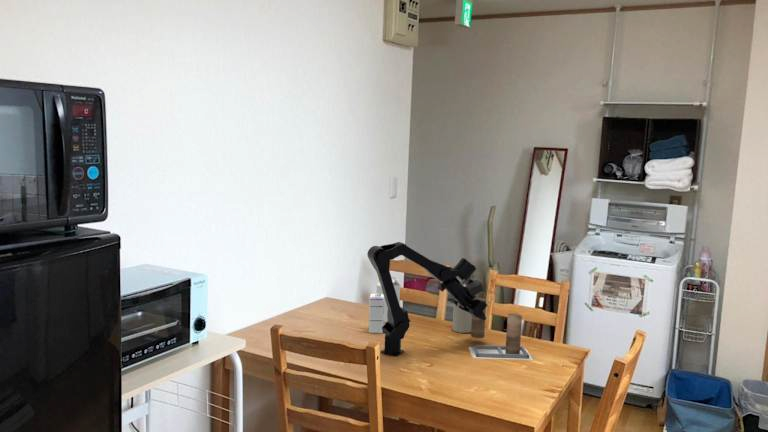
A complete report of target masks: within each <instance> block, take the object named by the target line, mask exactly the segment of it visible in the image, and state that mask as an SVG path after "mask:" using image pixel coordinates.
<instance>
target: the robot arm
mask: <svg viewBox="0 0 768 432" xmlns="http://www.w3.org/2000/svg"><path fill="white" fill-rule="evenodd" d="M400 256H403V257H404V258H406V259H407V260H409V261H411V262H413V263H414V264H416V265H418V266H420V267H421V268H423V269H424V271H426V272H427V274H429V275H430V276H431V277H432V278H434V279H436V280H438V281H440V282H438V286H437V290H439V291H441V292H444V291H447V292H448V294H449V295H450V297H451V300H450V301H451V303H452V304H453V306H454V305H455V306H458V305H459V308H460V309H462V310H464V311H467V312H469V313H470V314H471V315H473V316H475V317H478V318H480V319H482V320H485V321H486V320H487V317H486V316H485V314H484V312H483V310H484V309H485V308H487V307H488V303H487V301H486V302H485V301H483V300H481V299H477V300H476V301H475V300H473V299H474V298H477V296H476V295H478V294H479V293H481V292H484V291H485V288H484V285H483V282H482V281H480V280H476V279H471V276H473V274H474V273H475V272H476V271H477V267H476V266H475V265H474V264H472V263H471V262H470V261H468V259H466V258H464V257H462V258H461V259H460V260H459V262H458V263H457V264H456V265H455V266H454V267H451V266H447V265H445V264H442V263H440V262H437V261H434V260H432V259H430V258H428V257H426V256H424V255H422V254H421V253H420V252H418V251H416V250H414V249H412V248H411V247H409V246H408V245H407V244H406V243H403V242H401V241H397V242H394V243H391V244H390V243H389V244H382V245H380V246H379V245H372V246H371V247H370V248H369V249H368V250H367V258H368V260H369V262H370V264H371V265H372V267H373V269H374V270H375V272H376V274H377V277H378V282H379V281H380V284H381V287H382V291H383V294H384V297H385V301H386V304H387V307H388V312H387V318H388V321H387V322H385V323H384V326H383V327H382V331H383V333H382V334H384V347H383V350H381V351H380V354H383V355H388V356H392V357H398V356H400V355H402V354H403V353H405V350H404V349H402V340H403V339H404V337H405V335H406V333H407V332H408V330H409V328H410V326H411V325H410V323H411V322H412V321H411V320H410V318H409V313H408V311H407V310H406V309H404V308H403V307H401V304H399V302H398V298H397V295H396V291H395V288H394V285H393V281H392V278H391V276H392V275H391V272H390V266H391V262H390V261H391V260H395V259H396V258H398V257H400ZM463 281H465V282H466V283H465V285H466V286H465V287H464V286H463V285H464V284H463V283H462V282H463Z"/></svg>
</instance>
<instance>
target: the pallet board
mask: <svg viewBox="0 0 768 432" xmlns="http://www.w3.org/2000/svg"><path fill="white" fill-rule="evenodd" d="M468 349H469V352H470V354H471V356H472V359H486V360H518V361H519V360H520V361H521V360H522V361H523V360H524V361H534V359H533V357H532V356H531V354H530V353H529V351H528V350H527V348H525V347H524V346H521V345H520V354H506V353H505V351H506V345H491V344H489V345H488V344H487V345H486V344H485V345H483V344H472V346H468Z"/></svg>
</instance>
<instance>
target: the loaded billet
mask: <svg viewBox="0 0 768 432" xmlns="http://www.w3.org/2000/svg"><path fill="white" fill-rule="evenodd" d="M506 320H507V321H506V323H507V325H506V336H505V337H506V339H505V346H506V351H505V353H506V354H520V346H521V341H522V340H521V338H522V325H523V324H522V322H523V315H521V314H519V313H508V314H507V319H506Z"/></svg>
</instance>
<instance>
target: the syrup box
mask: <svg viewBox="0 0 768 432" xmlns="http://www.w3.org/2000/svg"><path fill="white" fill-rule="evenodd" d="M368 299H369V303H368V304H369V305H368V306H369V307H368V308H369V309H368V333H372V334H384V333H383V331H382V327H383V326H384V325H385V322H384V294H376V293H370V295H369V297H368Z"/></svg>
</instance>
